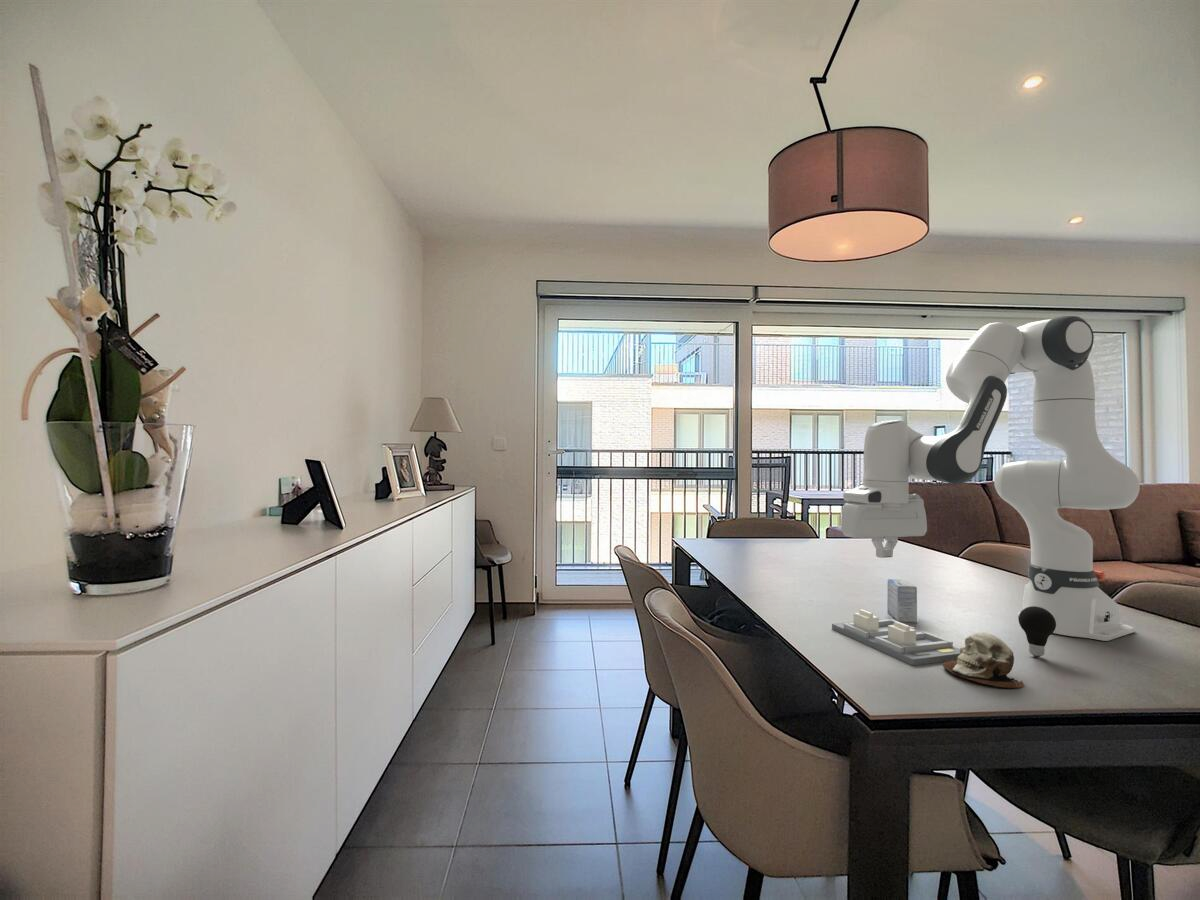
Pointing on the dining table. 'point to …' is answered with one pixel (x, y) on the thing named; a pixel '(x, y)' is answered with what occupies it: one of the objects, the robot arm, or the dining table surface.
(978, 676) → the skull
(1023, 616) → the light bulb
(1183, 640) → the dining table surface
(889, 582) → the medicine box
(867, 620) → the tab
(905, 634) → the tab
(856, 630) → the switch board
